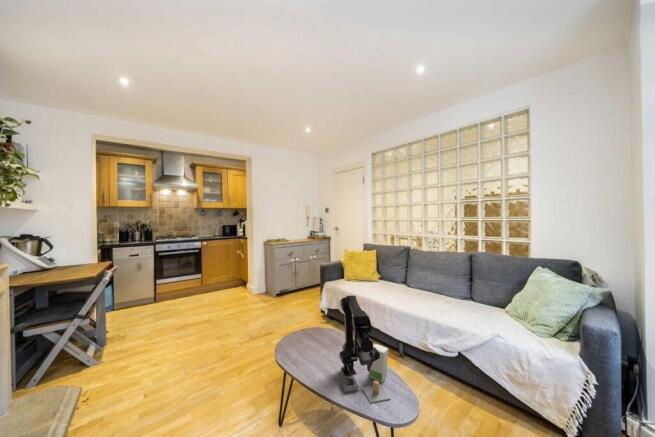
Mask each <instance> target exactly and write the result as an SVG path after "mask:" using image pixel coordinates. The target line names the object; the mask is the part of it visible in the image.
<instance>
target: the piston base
mask: <svg viewBox="0 0 655 437" xmlns="http://www.w3.org/2000/svg"><path fill="white" fill-rule="evenodd" d="M372 383H373V384H372V385H370V386H364V387H362V391H363V393H364V394H365V396H366V398H367V399H368V401H369V403H370V404H374V403H381V402H385V401H390V400H391V396H389V394H388V393H387V392H386V390H385V388H384V387H383V385H382V384H380V381H378V380H373V382H372Z"/></svg>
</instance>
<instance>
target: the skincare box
mask: <svg viewBox="0 0 655 437" xmlns="http://www.w3.org/2000/svg"><path fill="white" fill-rule="evenodd" d="M373 347H375V348H376V349H377V350H378V351H379V353H380V359H377V360H376V361H374V362H373V364H372V366H371V368H370V370H369V372H368V377H369V378H372V380H375V381H378V382H379V383H383V382H384V381H385V379H386V378H387V376H388V356H389V348H387V347H386V346H383V345H382V344H377V343H373Z"/></svg>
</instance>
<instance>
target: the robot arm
mask: <svg viewBox="0 0 655 437" xmlns="http://www.w3.org/2000/svg"><path fill="white" fill-rule="evenodd" d="M339 304H340V307H341V309H340V310H341V311H342V312H343V314H344V316H343V318H344V343H343V346H342V350H341V351H340V352H339V354H338V357H339V359H340V361H341V363H342V365H343V366H342V367H341V370H342V373H343V374H344V376H349V375H356V374H357V372H356V370H355V367H354V366H355V362H356V363H357V362H358V361H359V364H360V366H362V367H363V366H364V367H365V366H366V370H367V372H368V373H369V370H370V368H371V366H372V364H373V362H374V361H376V360H377V359H380V353H379V351H378V350H377V349H376V348H375V347H373V344H374V343H373V341H372V340H371V338H370V336H369V333H372V327H373V326H372V321H371V319H370V318H371V317H370V316H369V314H368V313H367V312H366V311H365V310H362V308H361V307H360V304H359V302H358V300H357V297H356V295H354V294H353V295H346V296H345V297H343V298H341V299H340V300H339Z"/></svg>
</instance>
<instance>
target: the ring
mask: <svg viewBox="0 0 655 437" xmlns="http://www.w3.org/2000/svg"><path fill="white" fill-rule="evenodd" d="M351 384H352V385H351ZM340 386H341V388H342V390H343V393H344V394H348V393H354V392H358V391H359V385H358V382H357V380H356V379H355V377H354V376H351V377H345V378H340Z"/></svg>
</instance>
